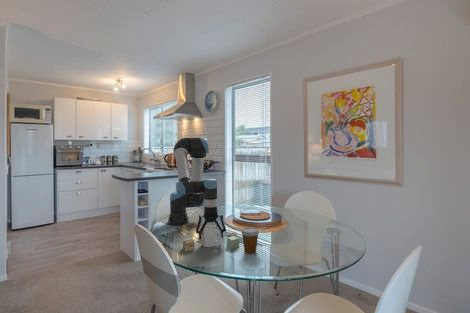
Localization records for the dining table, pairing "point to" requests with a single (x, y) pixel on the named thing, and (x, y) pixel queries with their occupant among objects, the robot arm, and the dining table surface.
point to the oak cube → (188, 244)
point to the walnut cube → (232, 234)
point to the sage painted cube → (232, 242)
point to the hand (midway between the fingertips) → (211, 244)
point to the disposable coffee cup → (250, 239)
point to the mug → (210, 236)
